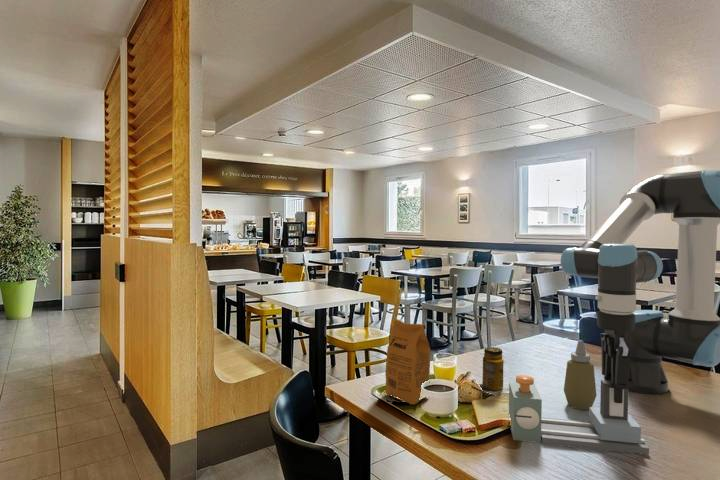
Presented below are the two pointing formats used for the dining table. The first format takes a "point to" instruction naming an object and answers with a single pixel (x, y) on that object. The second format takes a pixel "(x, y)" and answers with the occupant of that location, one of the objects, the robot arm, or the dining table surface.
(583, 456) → the dining table surface
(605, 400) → the carriage
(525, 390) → the button
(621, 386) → the robot arm
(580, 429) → the rail bed
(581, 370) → the squeeze bottle
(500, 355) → the condiment
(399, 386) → the coffee package
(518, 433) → the gauge cabinet
